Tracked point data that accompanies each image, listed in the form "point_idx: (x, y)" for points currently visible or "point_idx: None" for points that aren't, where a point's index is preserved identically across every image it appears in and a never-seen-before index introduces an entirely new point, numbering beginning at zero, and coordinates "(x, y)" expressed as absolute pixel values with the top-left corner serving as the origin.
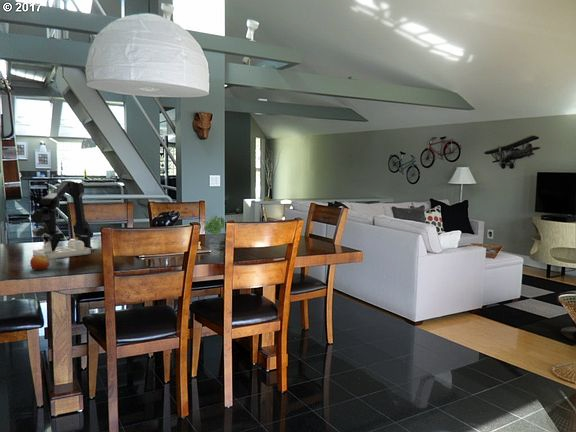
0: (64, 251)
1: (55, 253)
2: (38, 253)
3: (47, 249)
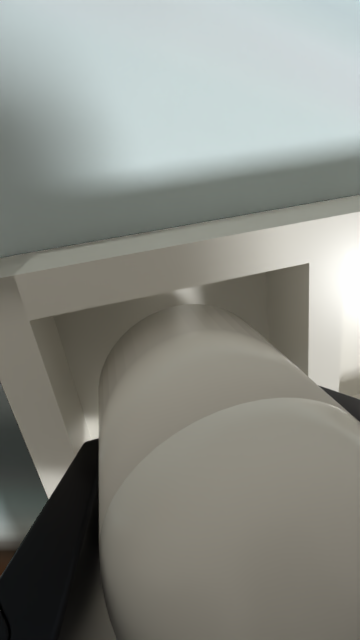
0: None
1: (34, 452)
2: (346, 206)
3: (143, 377)
